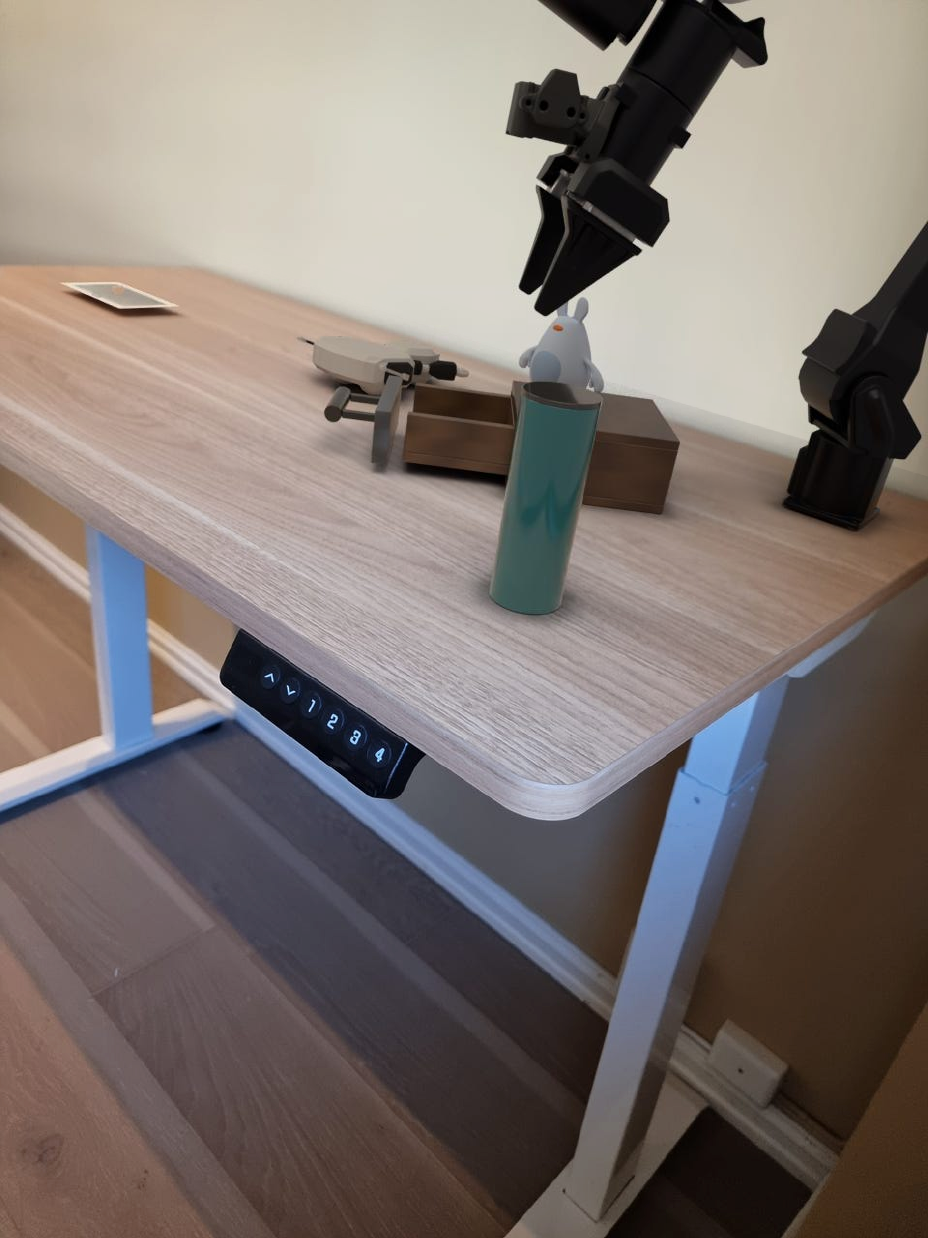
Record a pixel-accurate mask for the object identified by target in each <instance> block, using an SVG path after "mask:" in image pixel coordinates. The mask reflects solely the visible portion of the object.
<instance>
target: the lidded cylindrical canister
mask: <svg viewBox="0 0 928 1238" xmlns="http://www.w3.org/2000/svg"><path fill="white" fill-rule="evenodd" d="M593 391H594V390H591V389H588V388H586V389H585V388H582V387H579V386H574V385H570V384H564V383H557V382H544V381H539V382H531V381H529V382H528V383H526V384H524V385H523V386H522V392H521V398H520V405H519V411H518V417H517V423H516V429H515V436H514V442H513V448H512V454H511V460H510V467H509V473H508V479H507V485H505V492H504V498H503V505H502V510H501V516H500V524H499V529H498V535H497V541H496V548H495V554H494V560H493V566H492V572H491V579H490V585H489V591H488V592H489V596H490V598H491V600H492V601H494V602H495V603H496V604H498V605H499V606H500V607H502V608H504V609H506V610H509V611H512V612H516V613H519V614H525V615H546V614H550V613H552V612H556V611H557V610H558V609H559V608H560V607H561V605H562V601H563V596H564V592H565V587H566V582H567V578H568V573H569V567H570V563H571V557H572V553H573V548H574V542H575V539H576V533H577V528H578V524H579V518H580V514H581V509H582V505H583V504H582V500H583V495H584V490H585V485H586V480H587V475H588V471H589V466H590V461H591V456H592V451H593V446H594V442H595V437H596V432H597V427H598V422H599V417H600V412H601V408H602V403H603V398H602V397H601V396H600V395H599V394H597V393H595V392H593Z"/></svg>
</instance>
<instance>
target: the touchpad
mask: <svg viewBox="0 0 928 1238" xmlns="http://www.w3.org/2000/svg"><path fill="white" fill-rule="evenodd" d="M60 284H61V285H63V286H66V287H68V288H71V289H72V290H75V291H77V292H79V293H82V294H85V295H87V296H89V297H91V298H93V299H96V300H98V301H101V302H103V303H105V304H107V305H110V306H112V307H114V308H116V309H118V310H119V309H121V310H123V309H148V308H150V309H151V308H175V307H176V308H178V307H180V306H179V305H177V304H175V303H172V302H170V301H167V300H165V299H163V298H160V297H158V296H155V295H152V294H149V293H147V292H145V291H142V290H140V289H137V288H135V287H132V286H129V285H127V284H126V283H125V284H124V283H122V282H119V281H95V282H93V281H91V282H88V281H87V282H83V281H82V282H60Z"/></svg>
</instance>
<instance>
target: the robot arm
mask: <svg viewBox="0 0 928 1238" xmlns="http://www.w3.org/2000/svg"><path fill="white" fill-rule="evenodd" d="M537 1H538V2H539V3H540V4H542V6H544V7H545V8H546V9H548V10H549V11H550V12H552V13H553V14H554V15H556V17H558V18H559V19H561V20H562V21H563V22H565V24H566V25H568V26H570V27H571V28H572V29H573V30H575V32H577V33H578V34H580V35H581V36H582V37H584V38H585V39H586V40H587V41H589V42H590V43H591V44H592V45H594V46H596V48H597V49H599V50H601V51H602V52H605V51H606V50H607V49H608V48H609V47H610V46H611V44H613V43H614V42H615V41H616V39H618V42H619V43H620V44H621V45H623V46H624V47H627V46H628V45H629V44H630V43H631V42H632V41H633V40H634V39H635V38H636V36H637V34H638V33H639V32H640V30H641V29H642V27H643V26H644V24H645V22H646V21H647V19H648V18H649V16H650V14H651V13H652V12H653V10H654V8H655V5H656V3H657V2H658V0H537ZM660 1H661V2H662V4H661V6H660V7H659V9H658V11H657V13H656V14H655V16H654V17H653V19H652V21H651V23H650V25H649V26H648V28H647V29H646V31H645V32H644V35H643V36H642V38H641V40H640V41H639V43H638V45H637V46H636V48H635V50H634V51H633V53H632V55H631V56H630V58H629V60H628V62H627V63H626V64H625V66H624V69H622V71H621V73H620V75H619V77H618V78H617V79H616V82H615V83H612V84H608V85H604V86H603V87H602V88H601V89H600V91H599V92H598V94H597V95H596V98H594V97H590V96H589V95H586V94H581V90H580V86H579V85H580V84H579V79H578V74H577V73H576V72H572V71H569V70H565V69H564V70H563V69H560V68H553V69H551V70H550V71H549V72H548V74H547V75H546V76H545V78H544V79H543V81H542V82H541V83H540V84H538V83H535V82H533V81H523V80H521V81H518V82H515V84H514V88H513V93H512V98H511V103H510V108H509V112H508V117H507V123H506V127H505V135H507V136H512V137H516V138H519V139H524V138H526V139H529V140H531V139H538V140H543V141H547V142H550V143H555V144H559V145H564V146H565V148H564V150H563V151H561V152H558V153H553V154H550V155H548V156H547V158H546V159H545V162H544V163H543V164H542V167H541V168H540V170H539V172H538V174H537V175H536V177H535V179H537V180H538V182H541V183H542V184H543V185H545V186H546V189H545V188H544V187H543V186H541V185H538V184H535V193H536V196H537V201H538V204H539V209H540V221H539V224H538V228H537V230H536V232H535V236H534V239H533V242H532V246H531V248H530V250H529V253H528V257H527V259H526V263H525V266H524V268H523V271H522V274H521V278H520V280H519V283H518V289H519V290H520V292H522V293H523V294H525V295H527V296H531V295H532V294H533V293H535V292H536V291H537V290H538V289H539V288H540V290H539V292H538V294H537V297H536V299H535V302H534V305H533V309H534V311H535V312H537V314H539V315H541V316H543V317H548V316H550V315H551V314H553V313H554V312H555V311H557V309H558V308H560V307H561V306H562V305H564V304H565V303H567V302H568V303H569V301H571V300H573V299H574V298H575V297H576V296H578V295H580V294H581V293H583V291H585V290H586V289H588V288H589V287H590V286H591V287H592V285H593V284H595V283H596V282H598V281H599V280H600V279H602V278H604V277H605V276H607V275H608V274H610V273H611V272H612V271H614V270H615V269H617V268H619V267H620V266H622V265H623V264H625V263H626V262H628V261H629V260H630V259H632V258H634V257H638V256H639V255H640V254H641V253H642V252H643V249H642V248H641V247H639V246H638V245H636V244H635V243H634V242H635V241H636V240H638V242H640V243H642V244H643V245H646V246H647V247H650V248H654V246H655V245H656V243H657V241H658V240H659V239H660V237H661V235H662V234H663V232H664V231H665V229H666V228H667V226H668V225H669V224H670V222H671V218H670V210H669V200H668V198H667V197H665V196H664V195H663V194H661V193H660V192H658V190H656V189H655V188H653V187H652V186H651V185H652V184H653V182H654V181H655V179H656V178H657V176H658V175H659V173H660V172H661V170H662V168H663V167H664V165H665V164H666V162H667V161H668V159H669V157H670V156H671V155H672V153H673V151H674V150H675V149H676V150H677V149H678V150H683V149H684V148H685V146H686V145H687V143H688V142H689V140H690V138H691V137H692V135H693V134H692V133H690V132H689V131H688V130H687V129H688V128H689V126H690V125H691V123H692V122H693V120H694V118H695V117H696V115H697V114H698V112H699V110H700V109H701V107H702V106H703V104H704V102H705V101H706V99H707V98H708V96H709V95H710V93H711V91H712V90H713V88H714V87H715V85H716V84H717V82H718V81H719V79H720V77H721V76H722V75H723V73H724V71H725V69H726V68H727V67H728V65H729V63H730V62H731V60H732V61H733V62H734V63H736V64H737V65H738V66H739V67H741V68H742V69H749V68H756V67H760V66H763V65H766V64H767V62H768V60H769V54H768V49H767V43H766V39H765V25H766V18H765V17H764V16H759V17H756V18H753V19H750V20H748V21H744V20H743V19H741V18H740V17H739V16H738V15H737V14H736V13H734V12H733V11H732V10H731V9H730V8H728V6H726V5H736V4H741V3H745V2H749V1H750V0H702V1H701V2H700V1H699V0H660ZM725 4H726V5H725ZM927 338H928V220H927V221H926V222H925V224H924V225H923V227H922V228H921V229H920V231H919V232H918V233H917V236H916V237H914V239H913V240H912V242H911V244H910V245H909V247H908V248H907V250H905V252H904V254H903V255H902V257H901V258H900V259H899V261H898V262H897V264H896V265H895V267H894V268H893V270H892V271H891V273H890V274H889V275H888V277H887V278H886V280H885V281H884V283H883V284H882V285H881V287H880V288H879V290H878V291H877V293H876V294H875V295H874V296H873V297H872V298H871V300H869V301H868V302H867V303H865V304H864V305H862V306H861V307H860V308H859V309H857V310H856V311H854V312H853V313H848V312H846V311H844V310H841V309H839V308H834V309H833V310H832V311H831V312H830V313H829V314H828V316H826V319H825V321H824V322H823V325H822V328H821V329H820V330H819V333H818V335H817V336H816V337H815V338H814V340H813V341H812V342H811V343H810V344H809V345H808V346H807V347H805V348H804V349H802V351H801V354H802V355H803V356H805V357H806V358H805V360H804V361H803V364H802V365H801V367H800V369H799V373H798V376H797V377H798V379H797V380H798V382H799V391H800V394H801V395H802V396H801V397H802V398H803V400H804V402H806V403H807V419H808V420H807V421H808V423H809V424H810V425H812V426H815V427H816V428H818V429H816V430H814V431H811V434H810V437H809V440H808V443H807V444H806V445H804V446H802V447H799V450H798V452H797V456H796V459H795V462H794V466H793V469H792V471H791V474H790V478H789V480H788V484H787V487H786V490H785V491H786V493H787V495H788V496H786V497H784V498H783V500H782V505H783V506H784V507H787V508H790V509H793V510H795V511H799V512H802V513H805V514H808V515H811V516H814V517H816V518H819V519H822V520H824V521H825V520H826V521H828V522H832V523H834V524H837V525H840V526H843V527H845V528H848V529H852V530H859V529H861V528H862V527H863V526H865V525H866V524H868V523H869V522H870V521H872V520H873V519H874V518H876V517H877V516H878V515H879V514H880V511H881V508H879V507H877V505H878V502H879V500H880V498H881V495H882V492H883V490H884V487H885V484H886V482H887V480H888V476H889V474H890V471H891V468H892V466H893V463H894V460H904V461H905V460H906V459H907V458H908V457H909V456H910V455H911V453H912V452H913V451H914V450H915V448H916V447H917V445H918V444H919V443H920V441H921V440H922V433H921V431H920V429H919V427H918V426H917V424H916V422H915V420H914V418H913V417H912V415H911V413H910V410H909V409H908V407H907V405H906V403H905V401H904V400H905V398H906V396H907V395H908V393H909V391H910V389H911V387H912V385H913V384H914V382H915V380H916V379H917V377H918V375H919V373H920V371H921V365H922V361H923V357H924V354H925V353H924V352H925V348H926V344H927Z"/></svg>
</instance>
